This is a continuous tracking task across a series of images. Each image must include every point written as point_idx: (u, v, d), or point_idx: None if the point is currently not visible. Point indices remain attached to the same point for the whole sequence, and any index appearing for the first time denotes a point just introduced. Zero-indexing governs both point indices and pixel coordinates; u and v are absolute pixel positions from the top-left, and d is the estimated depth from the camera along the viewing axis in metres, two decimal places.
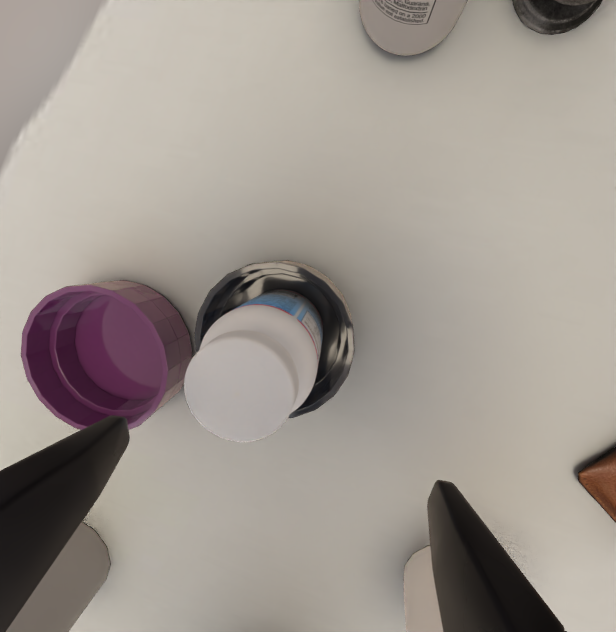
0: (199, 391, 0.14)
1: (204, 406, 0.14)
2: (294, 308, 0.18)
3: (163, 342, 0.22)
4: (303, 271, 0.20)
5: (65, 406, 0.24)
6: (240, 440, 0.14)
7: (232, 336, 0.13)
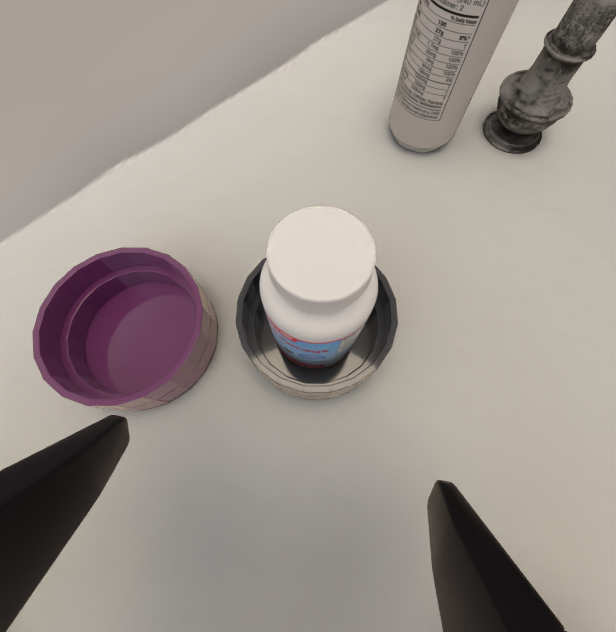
0: (282, 248, 0.14)
1: (284, 261, 0.14)
2: None
3: (202, 306, 0.21)
4: None
5: (57, 375, 0.21)
6: (317, 297, 0.13)
7: None
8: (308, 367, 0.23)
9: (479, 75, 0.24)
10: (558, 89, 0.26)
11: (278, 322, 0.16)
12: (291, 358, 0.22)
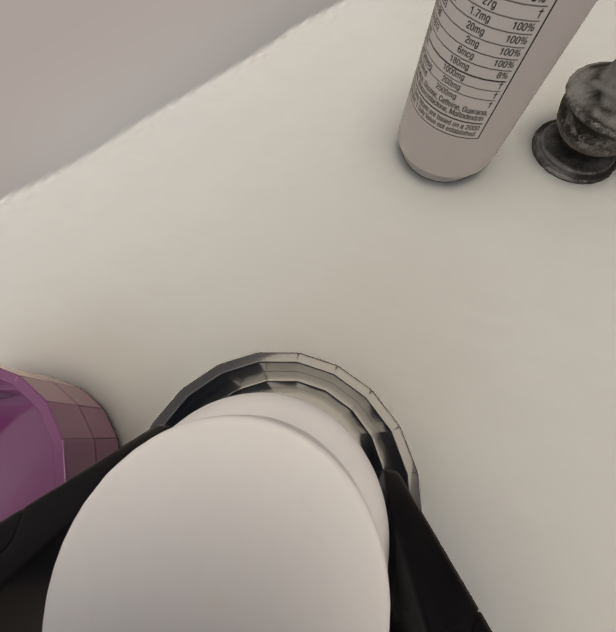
0: (97, 585, 0.04)
1: None
2: None
3: (68, 479, 0.12)
4: (338, 370, 0.13)
5: None
6: None
7: (235, 415, 0.05)
8: None
9: (550, 67, 0.15)
10: None
11: None
12: None
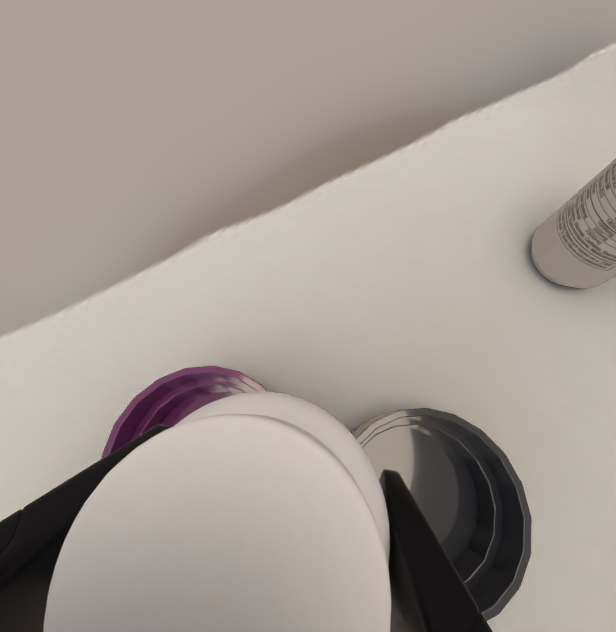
0: (97, 583, 0.04)
1: None
2: None
3: None
4: (482, 434, 0.18)
5: None
6: None
7: (236, 414, 0.05)
8: None
9: None
10: None
11: None
12: None
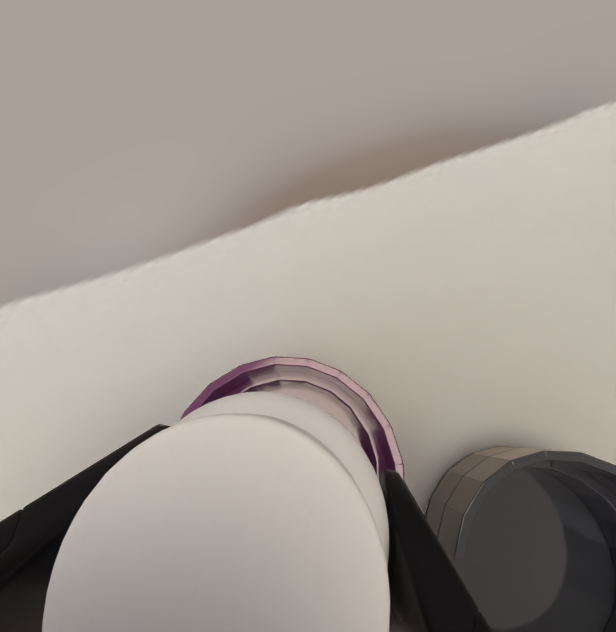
0: (97, 583, 0.04)
1: None
2: None
3: None
4: None
5: None
6: None
7: (235, 413, 0.05)
8: None
9: None
10: None
11: None
12: None
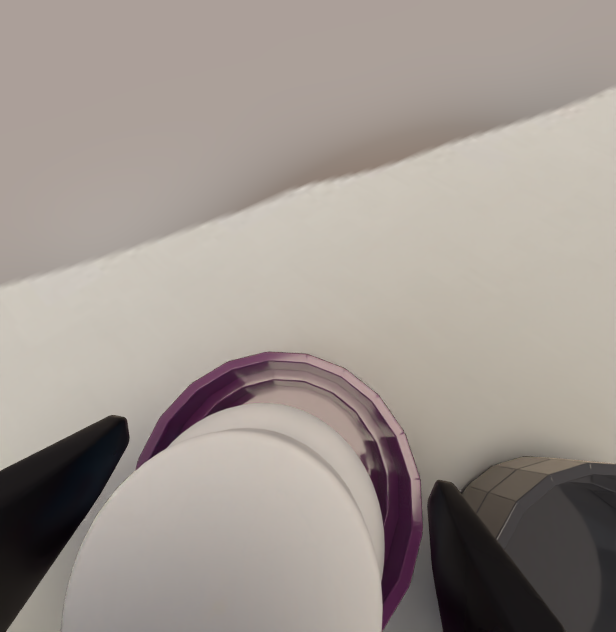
0: (111, 590, 0.05)
1: None
2: None
3: None
4: None
5: None
6: None
7: (238, 430, 0.06)
8: None
9: None
10: None
11: None
12: None
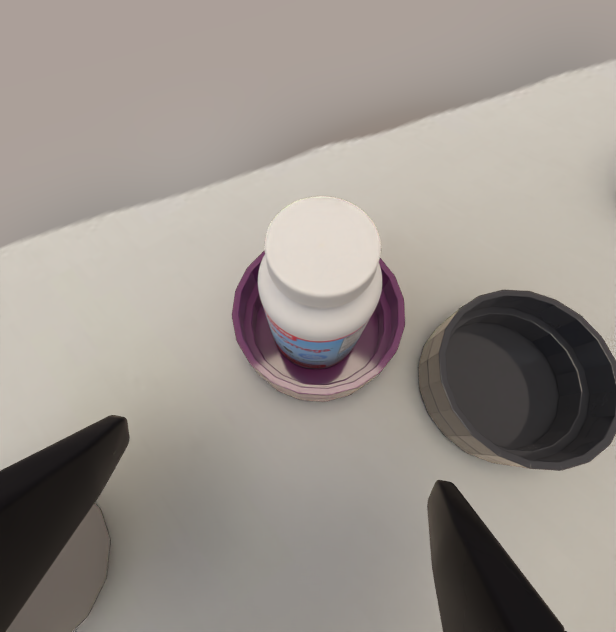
0: (281, 240, 0.13)
1: (283, 254, 0.13)
2: None
3: None
4: (581, 318, 0.20)
5: (245, 339, 0.20)
6: (319, 292, 0.12)
7: None
8: None
9: None
10: None
11: (277, 320, 0.15)
12: (291, 358, 0.21)
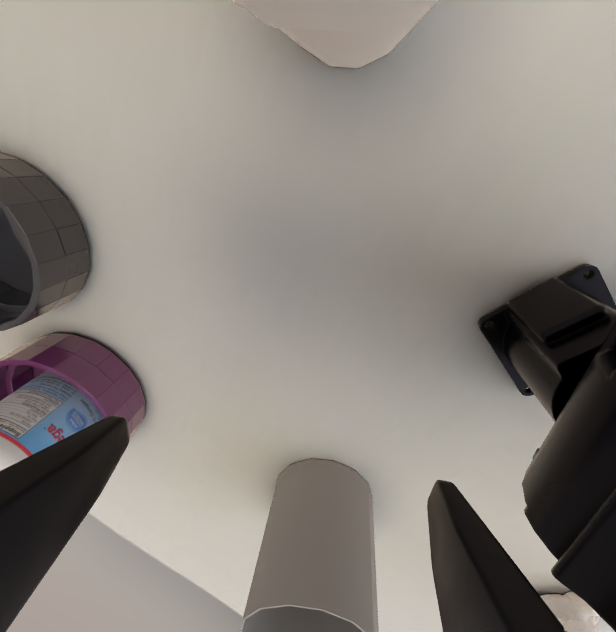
0: None
1: None
2: None
3: (6, 359, 0.22)
4: None
5: None
6: None
7: None
8: None
9: None
10: None
11: None
12: None
